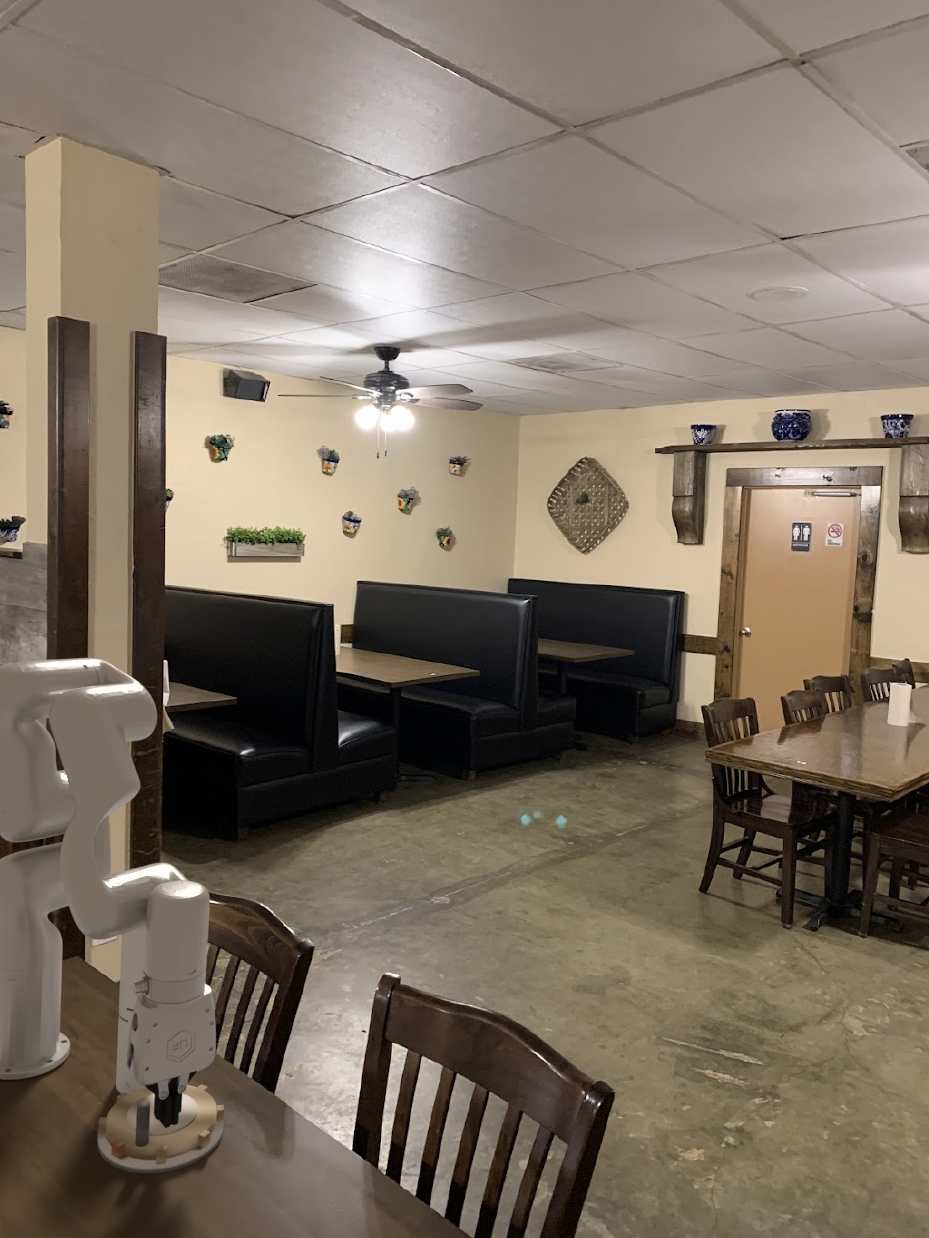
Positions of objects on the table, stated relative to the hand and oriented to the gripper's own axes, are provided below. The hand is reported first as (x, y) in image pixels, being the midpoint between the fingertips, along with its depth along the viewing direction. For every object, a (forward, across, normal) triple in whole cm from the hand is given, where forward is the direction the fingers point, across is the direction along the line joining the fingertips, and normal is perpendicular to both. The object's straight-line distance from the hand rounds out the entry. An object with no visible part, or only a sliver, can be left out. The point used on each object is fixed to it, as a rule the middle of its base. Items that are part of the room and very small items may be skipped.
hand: (167, 1120), depth 120 cm
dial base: (+5, +2, +5) cm, 8 cm away
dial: (+4, +2, +5) cm, 7 cm away
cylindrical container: (+6, +4, +18) cm, 19 cm away
